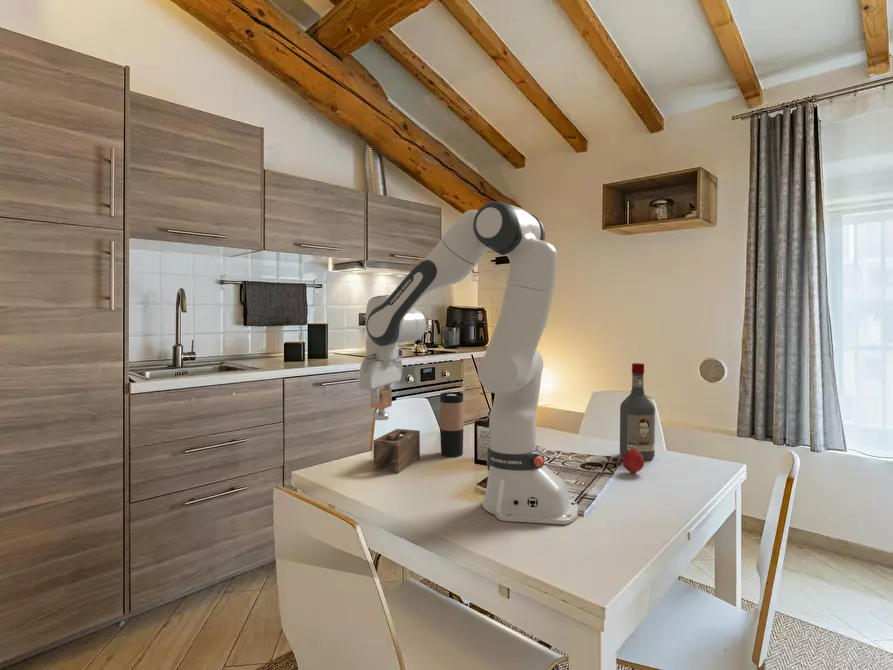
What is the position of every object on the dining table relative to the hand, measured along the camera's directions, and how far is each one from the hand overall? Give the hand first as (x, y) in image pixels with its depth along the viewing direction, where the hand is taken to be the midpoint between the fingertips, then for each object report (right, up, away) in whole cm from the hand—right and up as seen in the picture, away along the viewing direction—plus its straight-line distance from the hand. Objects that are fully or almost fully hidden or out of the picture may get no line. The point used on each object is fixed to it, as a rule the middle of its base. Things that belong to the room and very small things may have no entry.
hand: (381, 400), depth 149 cm
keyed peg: (0, -5, 0) cm, 5 cm away
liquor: (+80, -20, +18) cm, 84 cm away
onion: (+72, -21, +1) cm, 75 cm away
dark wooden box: (+4, -21, +11) cm, 24 cm away
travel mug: (+20, -21, +22) cm, 36 cm away
